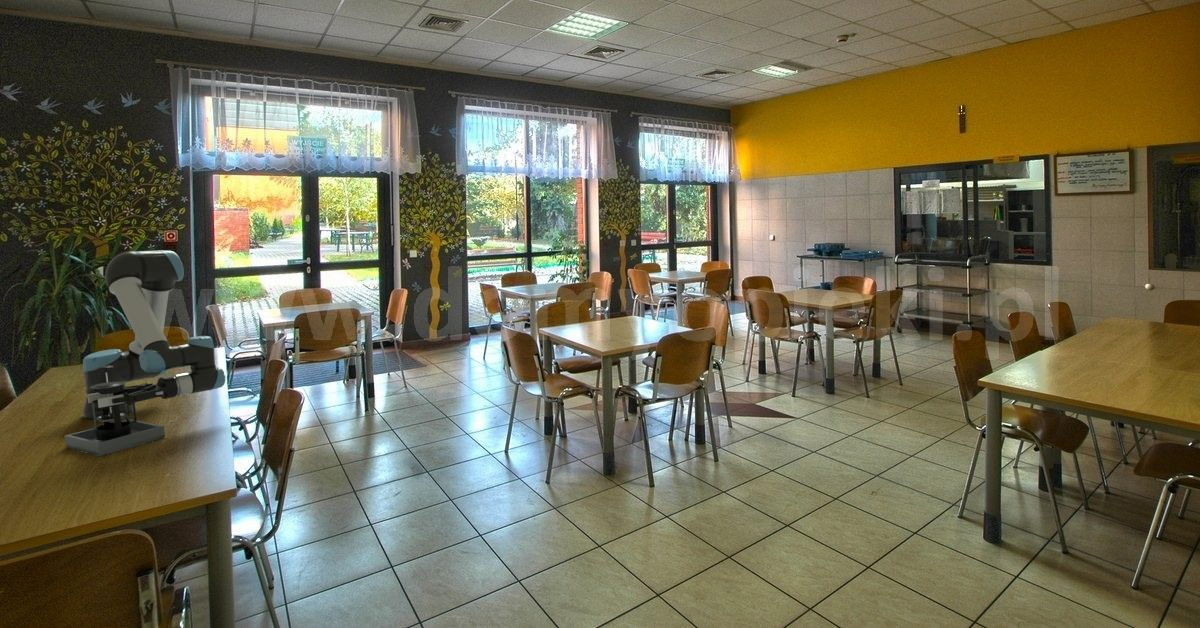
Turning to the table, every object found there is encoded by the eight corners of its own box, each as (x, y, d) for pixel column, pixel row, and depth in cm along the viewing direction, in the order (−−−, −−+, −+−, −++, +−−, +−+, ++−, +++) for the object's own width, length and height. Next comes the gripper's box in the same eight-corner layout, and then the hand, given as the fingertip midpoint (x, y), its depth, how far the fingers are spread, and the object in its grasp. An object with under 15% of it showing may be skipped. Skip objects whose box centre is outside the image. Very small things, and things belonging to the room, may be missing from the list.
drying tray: (66, 447, 200) (64, 435, 200) (131, 430, 217) (130, 419, 217) (99, 456, 192) (98, 444, 192) (165, 437, 209) (163, 426, 209)
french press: (99, 443, 197) (90, 371, 194) (88, 438, 202) (78, 367, 199) (143, 432, 207) (135, 364, 204) (130, 428, 212) (122, 360, 209)
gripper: (188, 401, 212) (107, 418, 193) (162, 392, 224) (83, 407, 206) (186, 379, 211) (104, 394, 192) (160, 371, 223) (80, 384, 205)
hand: (93, 401), depth 199 cm, fingers closed on french press, 8 cm apart
